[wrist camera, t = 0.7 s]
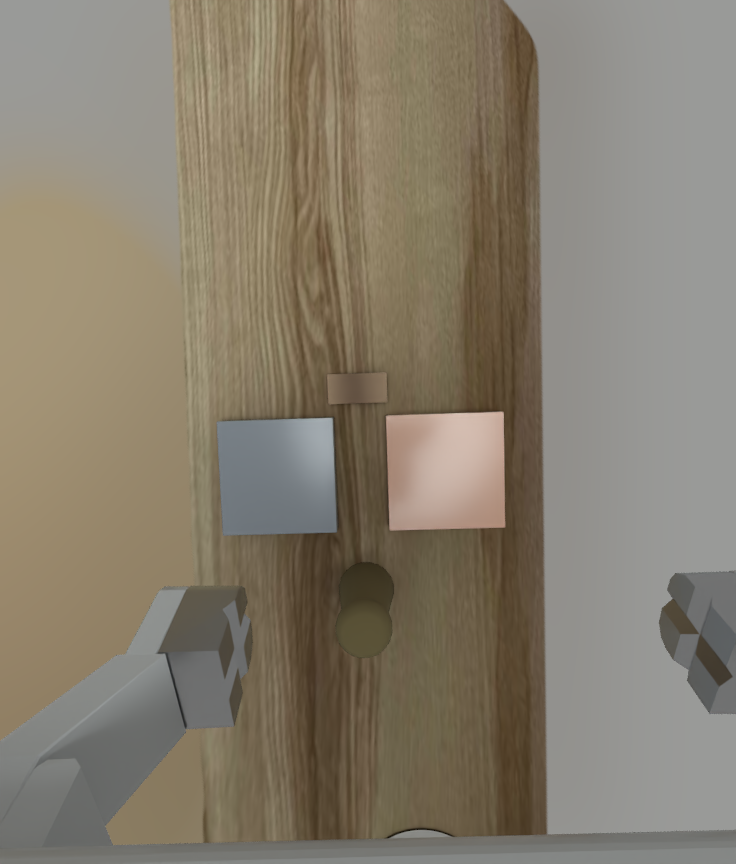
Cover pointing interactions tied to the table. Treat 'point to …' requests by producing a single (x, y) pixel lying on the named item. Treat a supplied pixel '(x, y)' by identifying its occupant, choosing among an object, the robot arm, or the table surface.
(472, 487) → the terracotta tile
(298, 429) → the steel tile
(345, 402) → the walnut brick
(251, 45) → the table surface
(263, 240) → the table surface
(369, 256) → the table surface
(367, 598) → the olive rounded tall piece
